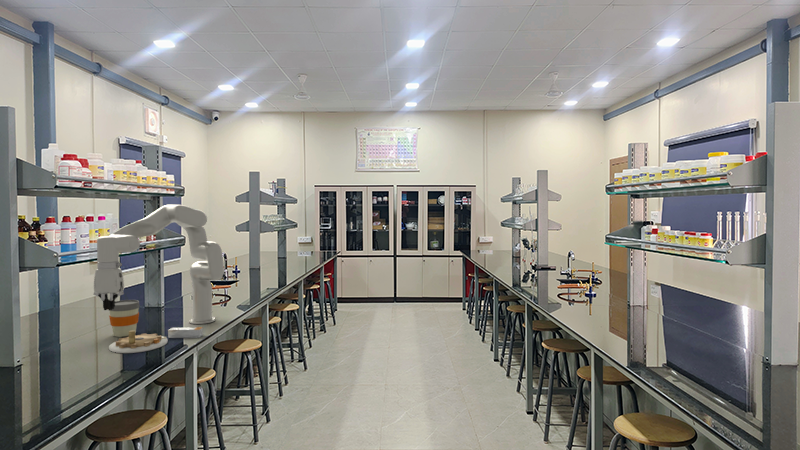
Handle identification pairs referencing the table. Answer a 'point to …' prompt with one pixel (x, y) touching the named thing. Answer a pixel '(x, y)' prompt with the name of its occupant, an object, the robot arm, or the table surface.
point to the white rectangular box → (185, 332)
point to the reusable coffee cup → (124, 317)
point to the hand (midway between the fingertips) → (109, 309)
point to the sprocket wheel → (138, 340)
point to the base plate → (138, 349)
